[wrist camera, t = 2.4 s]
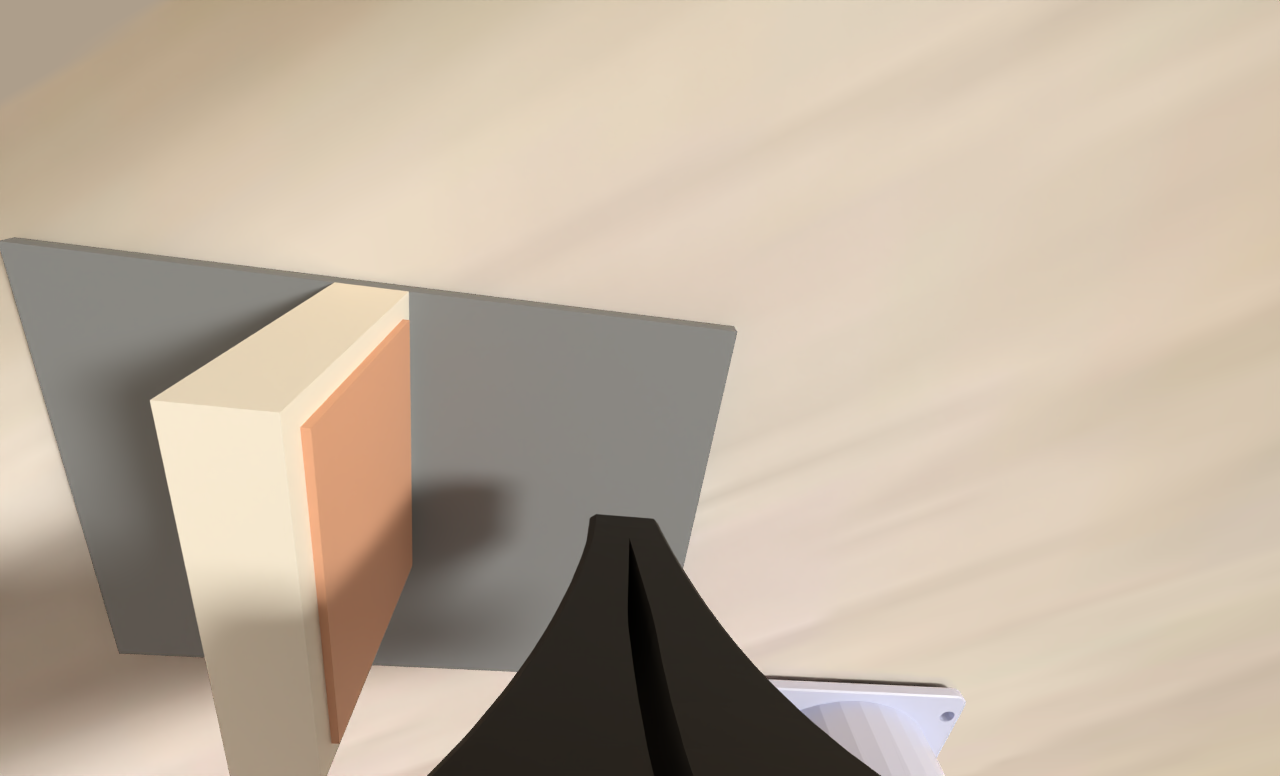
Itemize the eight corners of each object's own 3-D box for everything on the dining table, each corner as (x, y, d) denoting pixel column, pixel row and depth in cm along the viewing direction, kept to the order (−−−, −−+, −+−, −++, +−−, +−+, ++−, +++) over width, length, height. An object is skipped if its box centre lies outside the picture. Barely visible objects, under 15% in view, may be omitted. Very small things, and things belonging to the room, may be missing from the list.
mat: (656, 667, 19) (657, 678, 19) (128, 642, 18) (119, 653, 17) (733, 326, 15) (737, 331, 14) (14, 237, 13) (-3, 241, 12)
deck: (417, 566, 17) (330, 786, 11) (352, 562, 16) (231, 784, 11) (415, 292, 13) (291, 413, 8) (334, 282, 13) (149, 400, 8)
